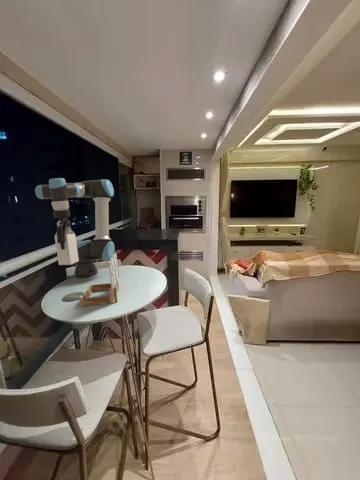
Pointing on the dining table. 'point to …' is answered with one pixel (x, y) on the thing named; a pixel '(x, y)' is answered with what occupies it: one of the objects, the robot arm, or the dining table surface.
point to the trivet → (73, 296)
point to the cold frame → (104, 287)
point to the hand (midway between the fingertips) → (67, 253)
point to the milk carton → (68, 248)
